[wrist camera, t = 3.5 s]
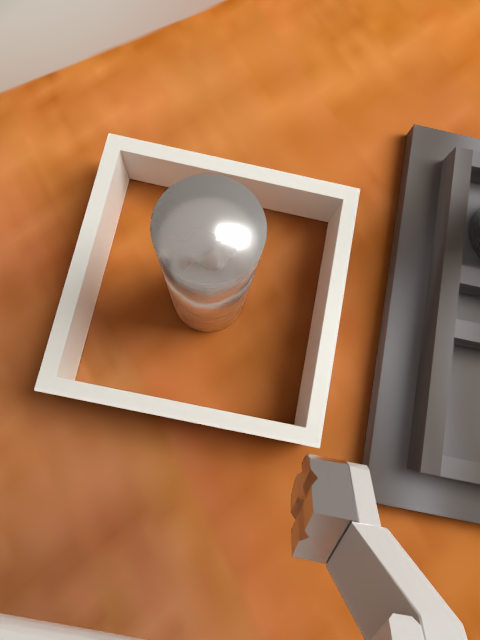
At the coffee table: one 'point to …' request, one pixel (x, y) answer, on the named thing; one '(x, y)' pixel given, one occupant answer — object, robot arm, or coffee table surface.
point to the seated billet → (475, 232)
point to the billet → (208, 247)
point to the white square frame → (273, 193)
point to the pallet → (430, 337)
